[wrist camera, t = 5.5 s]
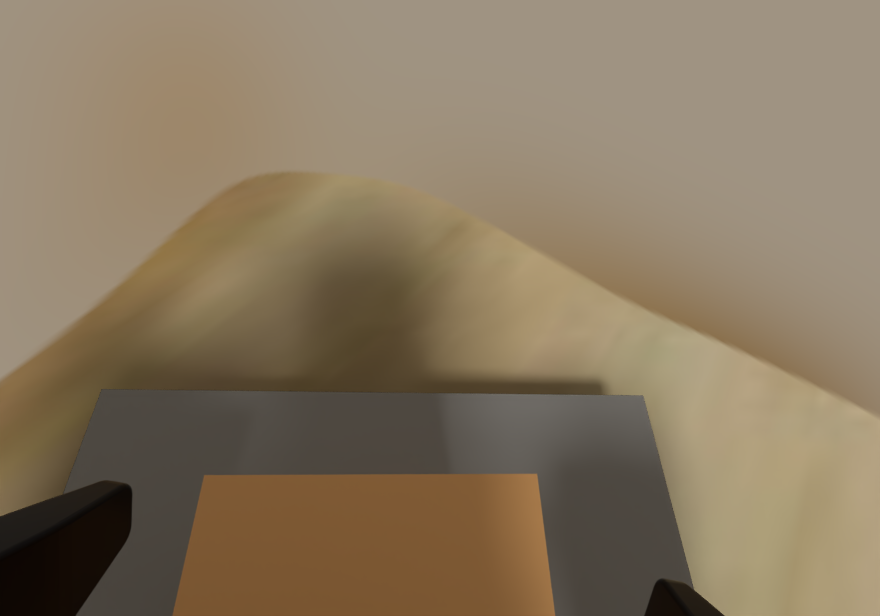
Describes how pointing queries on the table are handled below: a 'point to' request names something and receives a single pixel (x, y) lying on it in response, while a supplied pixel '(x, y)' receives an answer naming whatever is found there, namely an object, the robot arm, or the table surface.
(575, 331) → the table surface
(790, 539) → the table surface
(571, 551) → the jig plate
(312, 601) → the orange bar
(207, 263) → the table surface
